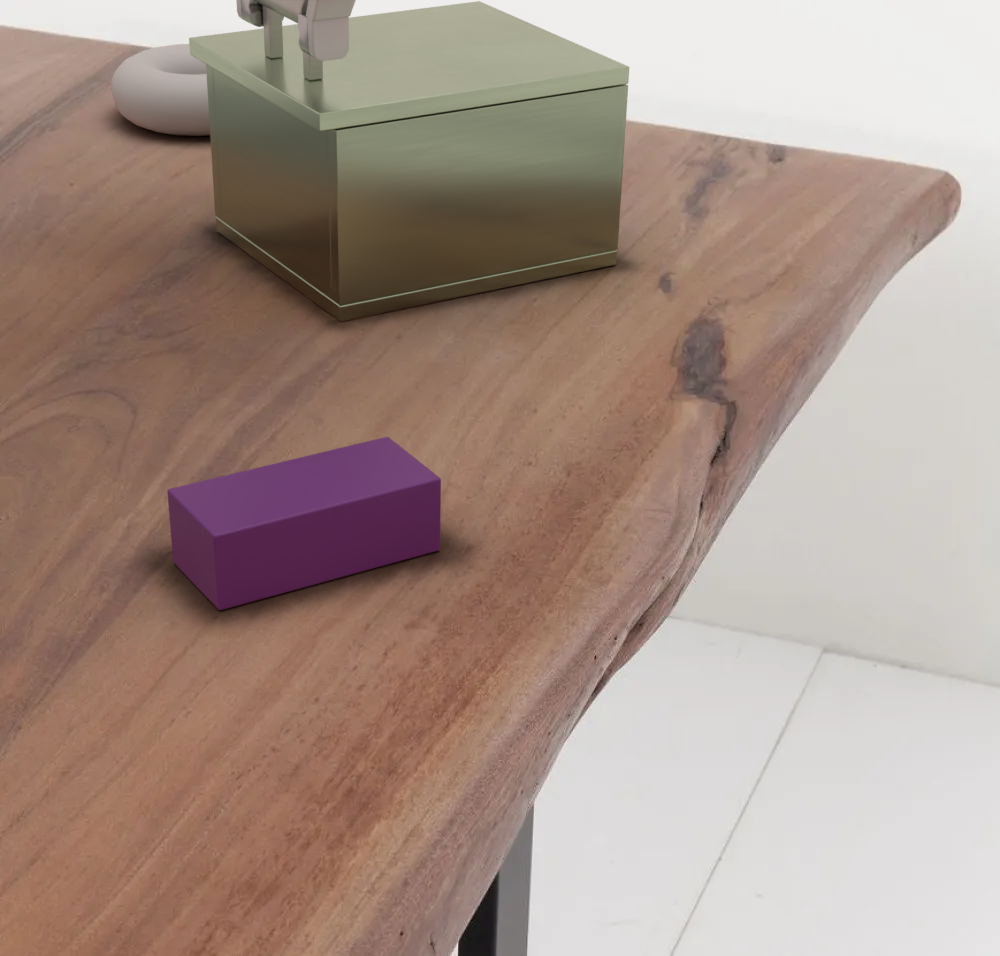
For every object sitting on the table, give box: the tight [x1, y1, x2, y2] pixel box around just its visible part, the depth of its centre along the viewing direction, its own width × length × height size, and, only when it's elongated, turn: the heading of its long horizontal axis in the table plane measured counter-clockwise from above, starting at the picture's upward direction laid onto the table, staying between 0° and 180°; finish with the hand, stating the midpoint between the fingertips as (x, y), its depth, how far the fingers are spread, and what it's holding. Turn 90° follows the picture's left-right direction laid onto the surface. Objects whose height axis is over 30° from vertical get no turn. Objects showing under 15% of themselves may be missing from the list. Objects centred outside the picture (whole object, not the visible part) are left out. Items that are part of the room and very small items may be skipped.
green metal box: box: [206, 64, 629, 322], centre depth 93 cm, size 16×14×9 cm
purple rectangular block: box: [166, 436, 442, 611], centre depth 68 cm, size 9×4×3 cm, turn 122°
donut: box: [110, 43, 210, 137], centre depth 111 cm, size 10×4×10 cm
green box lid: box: [188, 0, 630, 131], centre depth 89 cm, size 16×14×5 cm
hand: (292, 39), depth 86 cm, fingers closed on green box lid, 5 cm apart
